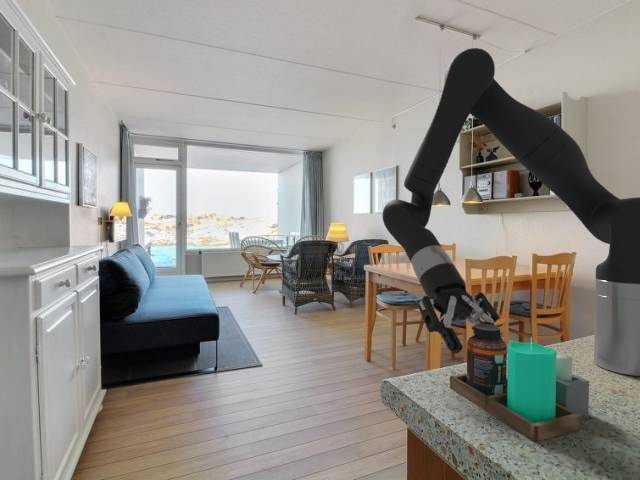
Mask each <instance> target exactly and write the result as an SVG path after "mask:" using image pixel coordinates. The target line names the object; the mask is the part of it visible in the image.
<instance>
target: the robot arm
mask: <svg viewBox="0 0 640 480" xmlns="http://www.w3.org/2000/svg"><path fill="white" fill-rule="evenodd" d="M495 67H496V66H495V62H494V59H493V57H492V56H491V54H490V53H489V52H488V51H486V50H485V49H483V48H480V47H478V48H477V47H472V48H467V49H465V50H463V51H461V52H459V54H457V55H456V56H455V57H453V59H452V60H451V61H450V63H449V64H448V66H447V68H446V70H445V76H444V82H443V87H442V92H441V95H440V98H439V102H438V105H437V108H436V110H435V113H434V116H433V118H432V120H431V122H430V125H429V127H428V129H427V131H426V133H425V136H424V137H423V139H422V142H421V144H420V146H419V147H418V149H417V151H416V154H415V156H414V158H413V160H412V163H411V164H410V166H409V169H408V172H407V174H406V176H405V178H404V183H403V186H404V187H405V189H406V190H407V191H409V192H410V193H411V201H410V202H409V201H406V200H403V199H392V200H390V201H388V202H386V204H385V206H384V207H383V211H382V221H383V222H382V223H383V224H384V226H385V228H386V230H387V232H388V233H389V234H390V235H391V236H392V237H393V239H394V240H395V241H396V242H397V243H398V244H399V245H400V246H401V247H402V249H403V250H404V252H405V254H406V255H407V258H408V260H409V262H410V263H411V265H412V268H413V269H412V270H413V271H414V275H415V276H416V278H417V280H418V281H419V284H420V286H421V288H422V289H423V291H424V294H425V295H424V296H423V297H422V298H421V300H420V301H419V302H418V303H417V308H418V310H419V312H420V315H421V317H422V319H423V322H424V324H425V326H426V329H427V331H428V332H429V333H434V332H435V333H438V334H439V335H440V336H441V337H442V339H443V341H444V343H445V345H446V347H447V349H448V350H449V351H451V353H452V354H453V355H455V354H459V353H460V352H461V351H462V350H463V345H462V343H461V342H460V339H459V337H458V335H457V334H456V332H455V330H454V328H453V327H452V326H451V325H452V322H455V321H457V320H458V321H459V320H460V321H465V320H466V321H468V322H469V323H470V324H474V325H475V324H490V325H495V323H496V322H497V321H499V319H500V315H499V314H498V312H497V310H495V307H493V305H492V304H491V302H490V300H489V299H487V297H486V295H485V294H484V293H483V292H478V293H477V294H475V295H471V294H470V293H469V292H467V290H466V282H465V280H464V278H463V276H462V275H461V273H460V272H459V270H458V269H457V267H456V265H455V263H454V262H453V260H452V259H451V258H450V256H449V254H448V253H447V252H446V251H445V250H444V249H443V247H442V245H441V244H440V242H439V240H438V239H437V237H436V235H435V234H434V233H433V232H432V231H431V230H430V229H428V228H426V227H427V225H428V223H429V220H430V217H431V211H432V207H433V203H434V195H435V192H436V189H437V187H438V184H439V182H440V181H441V178H442V176H443V175H444V172H445V170H446V167H447V164H448V162H449V160H450V157H451V156H452V153H453V149H454V147H455V145H456V143H457V140H458V139H459V135H460V134H461V131H462V129H463V127H464V126H465V124H466V122H467V119H468V117H469V116H470V115H471V117H474V119H476V120H477V121H479V122H480V123H481V124H482V125H483V126H485V127H486V128H487V130H489V132H490V133H491V134H492V136H494V138H496V140H497V141H498V142H499V143H500V144H501V145H502V146H503V147H504V148H505V149H506V151H508V152H509V153H510V154H511V155H512V157H513V158H514V159H515V160H517V161H518V163H520V164H521V165H522V166H523V167H524V168H525V169H526V170H527V171H528V172H529V173H531V174H532V175H533V176H534V177H536V178H537V180H539V181H540V183H541V184H543V185H544V186H545V187H546V188H548V190H550V191H551V192H552V193H553V194H554V195H555V196H556V197H558V199H559V200H561V201H562V202H563V203H564V204H565V205H566V206H567V207H568V208H569V209H570V210H571V212H572V213H573V214H574V216H576V217H577V219H578V220H579V222H581V224H582V225H583V226H584V227H585V228H586V229H587V231H588V232H589V233H590V234H591V235H592V236H593V237H594V238H595V239H596V240H599V241H600V242H601V243H604V244H608V245H609V247H608V255H607V258H606V259H605V260H604V261H602V262H601V263H598V264H597V265H596V268H595V285H594V286H595V287H594V292H595V293H594V294H595V295H594V297H595V299H594V336H593V337H594V338H593V339H594V340H593V341H594V342H593V344H594V345H593V362H594V363H595V364H596V365H597V366H598V367H600V368H603V369H606V370H608V371H611V372H614V373H617V374H622V375H626V376H627V375H628V376H636V377H640V196H638V197H637V196H636V197H628V198H620V197H619V198H618V197H617V196H615V194H613V193H611V192H610V191H609V190H607V188H605V186H604V185H602V184H601V183H600V182H599V181H598V180H597V179H596V178H595V177H594V175H593V173H592V171H591V170H590V168H589V165H588V163H587V160H586V157H585V155H584V153H583V151H582V148H581V147H580V146H579V144H578V143H577V141H576V140H575V139H574V138H573V137H572V136H570V134H569V133H567V131H565V130H564V129H563V128H562V127H561V126H559V124H558V123H556V122H555V121H553V120H552V119H551V118H549V117H548V116H546V115H545V114H543V113H541V112H539V111H538V110H535V109H533V108H532V107H529V105H528V106H527V105H525V104H523V103H521V102H520V101H518V100H517V99H515V98H514V97H512V96H511V95H510V94H509V93H508V92H507V91H506V90H505V89H504V88H503V87H502V86H501V85H500V83H499V82H497V80H496V79H495V73H496V72H495V71H496V68H495ZM435 310H436V311H437V312H439V315H437V313H436V311H435ZM473 312H475V313H474V314H472V313H473ZM500 337H501V339H502V340H503V337H502V336H501V335H500Z"/></svg>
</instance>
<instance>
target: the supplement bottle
mask: <svg viewBox="0 0 640 480" xmlns="http://www.w3.org/2000/svg"><path fill="white" fill-rule="evenodd" d="M472 332H473V335H472V336H470V337H469V338H468V339H467V343H466V347H467V349H466V374H467V384H468V385H470V386H471V387H473V388H475V389H476V390H478V391H480V392H481V393H483V394H485V395H487V396H492V395H497V394H502V393H507V392H506V379H507V374H508V345H507V343H506V342H505V341H504V340H503V338H502V339H501V337H502V336H501V335H502V334H501V327H499V326H498V325H495V324H494V325H490V324H475V323H474V325H473V331H472ZM500 336H501V337H500Z"/></svg>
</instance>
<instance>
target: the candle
mask: <svg viewBox="0 0 640 480" xmlns="http://www.w3.org/2000/svg"><path fill="white" fill-rule="evenodd" d="M556 354H557V350H556V349H555V348H551V347H545V346H544V345H541V344H538V343H537V342H533V337H532V336H530V342H521V341H513V340H512V341H511V342H509V343H507V373H506V377H507V392H506V393H507V408H509V409H510V410H512V411H514V412H515V413H517V414H519V415H521V416H522V417H524V418H526V419H527V420H529V421H531V422H532V423H538V422H542V421H547V420H551V419H555V408H556Z"/></svg>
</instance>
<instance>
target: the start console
mask: <svg viewBox="0 0 640 480" xmlns="http://www.w3.org/2000/svg"><path fill="white" fill-rule="evenodd" d="M556 403H557V404H559V405H561V406H563V407H565V408H567V409H569V410H571V411H573V412H575V413H577V414H579V415H581V417H583V416H587V415H589V414H590V413H589V411H590V409H589V407H590V406H589V405H590V380H588V379H586V378H583V377H580V376H578V375H576V374H573V373H572V381H569V382H563V381H561V380H559V379H556Z"/></svg>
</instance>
